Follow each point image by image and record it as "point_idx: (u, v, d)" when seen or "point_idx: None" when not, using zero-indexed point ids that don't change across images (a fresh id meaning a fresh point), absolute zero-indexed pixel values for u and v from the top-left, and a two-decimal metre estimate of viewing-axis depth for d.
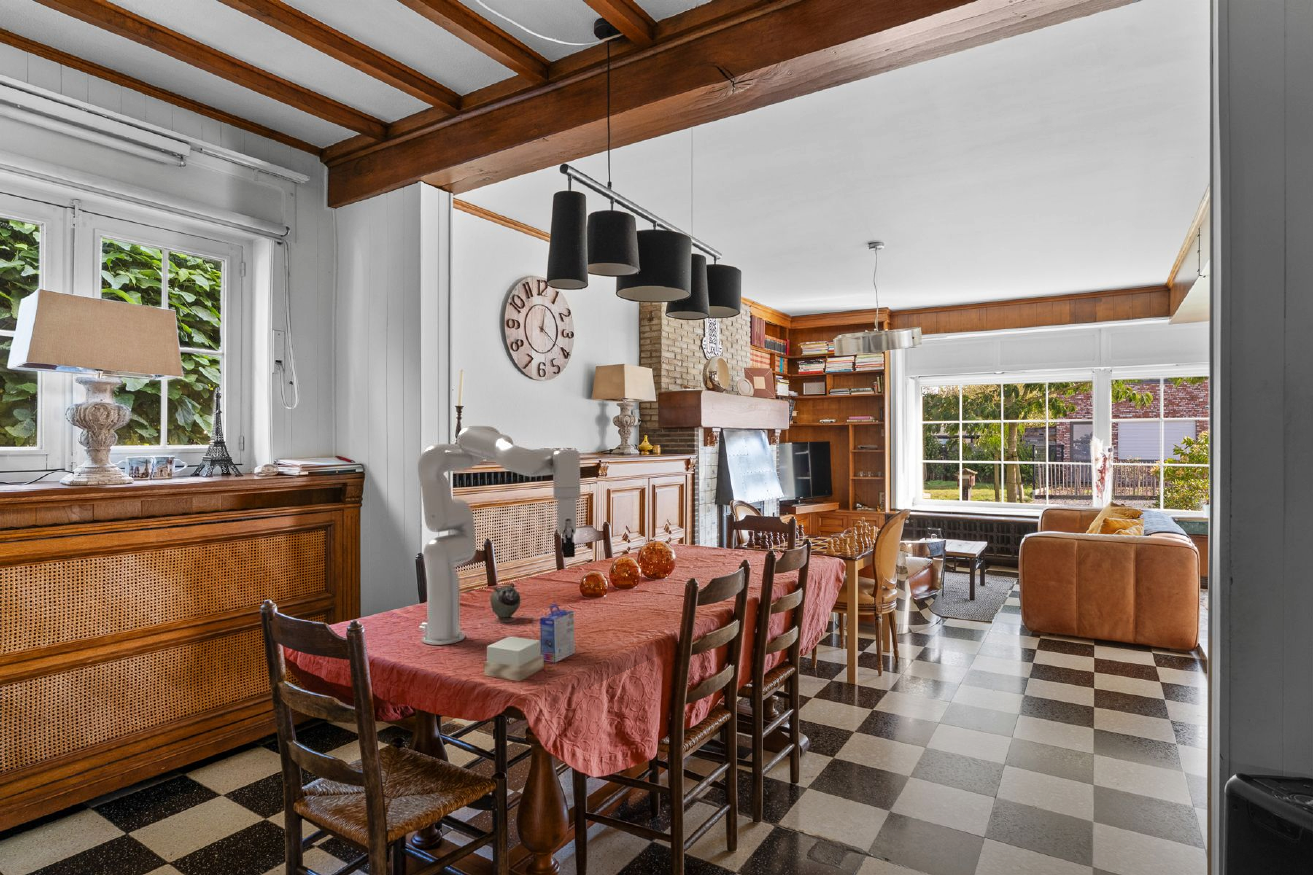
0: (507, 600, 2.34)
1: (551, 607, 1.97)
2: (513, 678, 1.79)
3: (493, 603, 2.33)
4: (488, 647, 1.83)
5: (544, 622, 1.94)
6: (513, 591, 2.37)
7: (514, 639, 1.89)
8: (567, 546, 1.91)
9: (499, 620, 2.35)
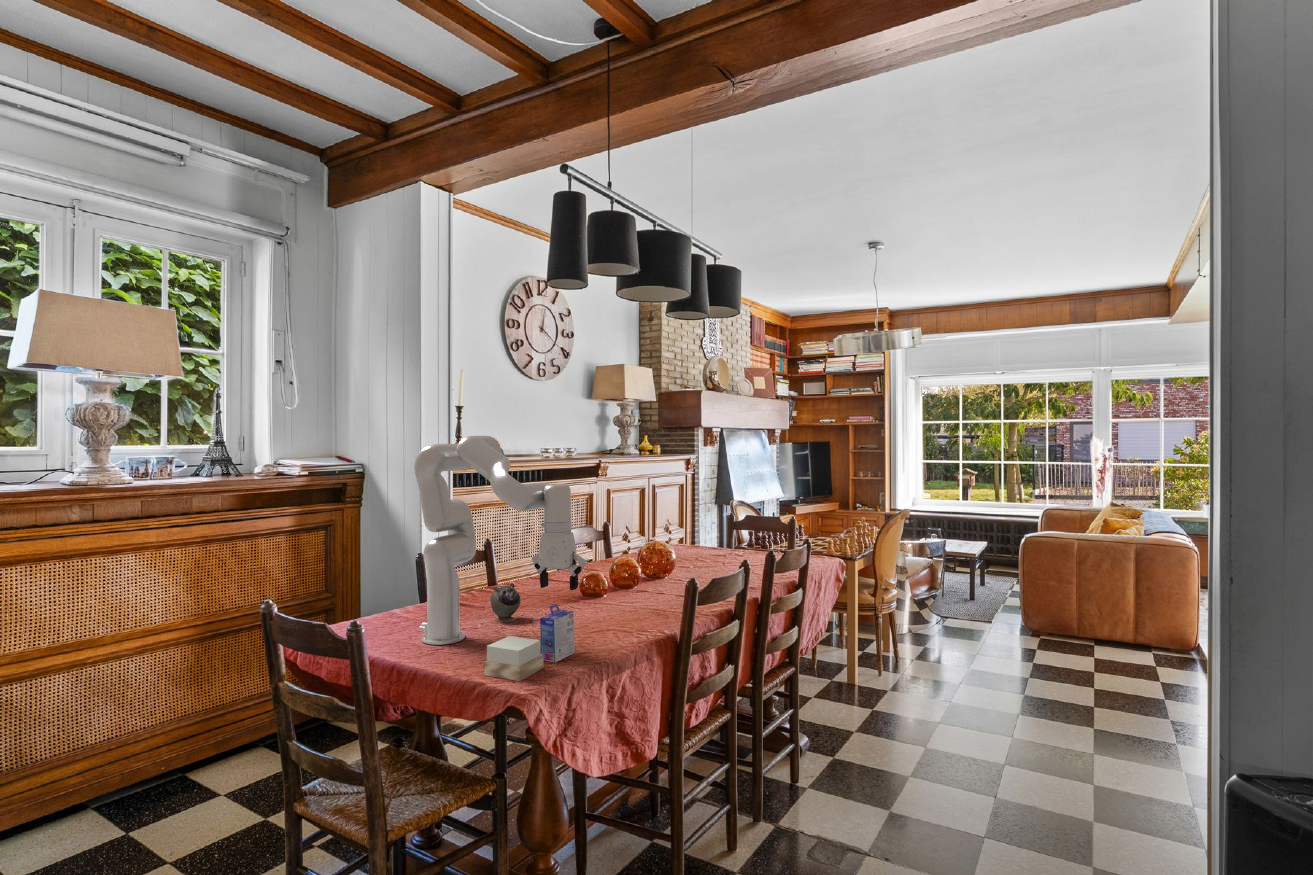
0: (507, 600, 2.34)
1: (551, 607, 1.97)
2: (513, 678, 1.79)
3: (493, 603, 2.33)
4: (488, 646, 1.83)
5: (544, 622, 1.94)
6: (513, 591, 2.37)
7: (513, 639, 1.89)
8: (576, 578, 1.95)
9: (499, 620, 2.35)
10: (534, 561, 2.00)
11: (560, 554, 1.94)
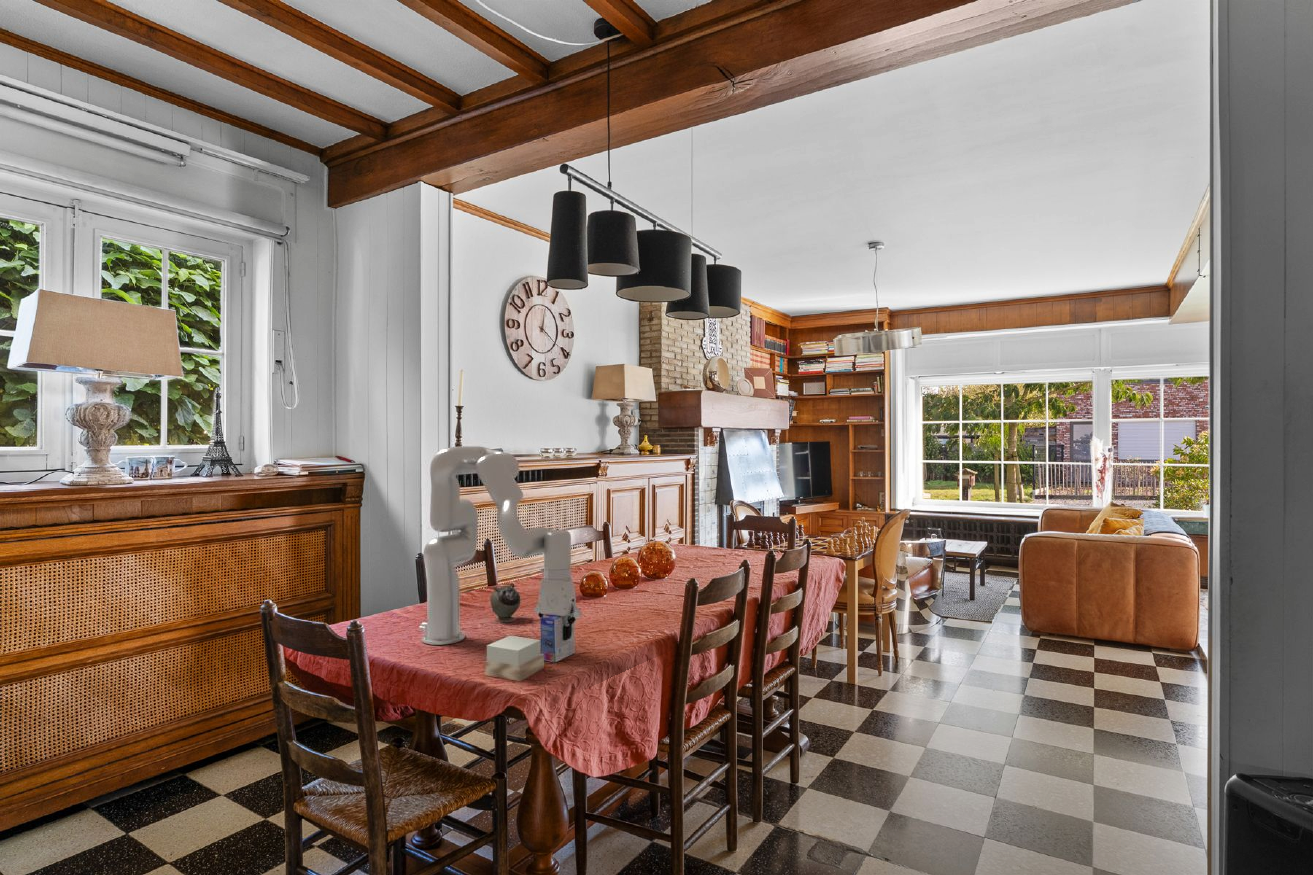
0: (507, 600, 2.34)
1: None
2: (514, 677, 1.79)
3: (493, 603, 2.33)
4: (488, 646, 1.83)
5: (544, 622, 1.94)
6: (513, 591, 2.37)
7: (514, 639, 1.89)
8: (569, 628, 1.96)
9: (499, 620, 2.35)
10: (538, 611, 2.00)
11: (559, 601, 1.94)
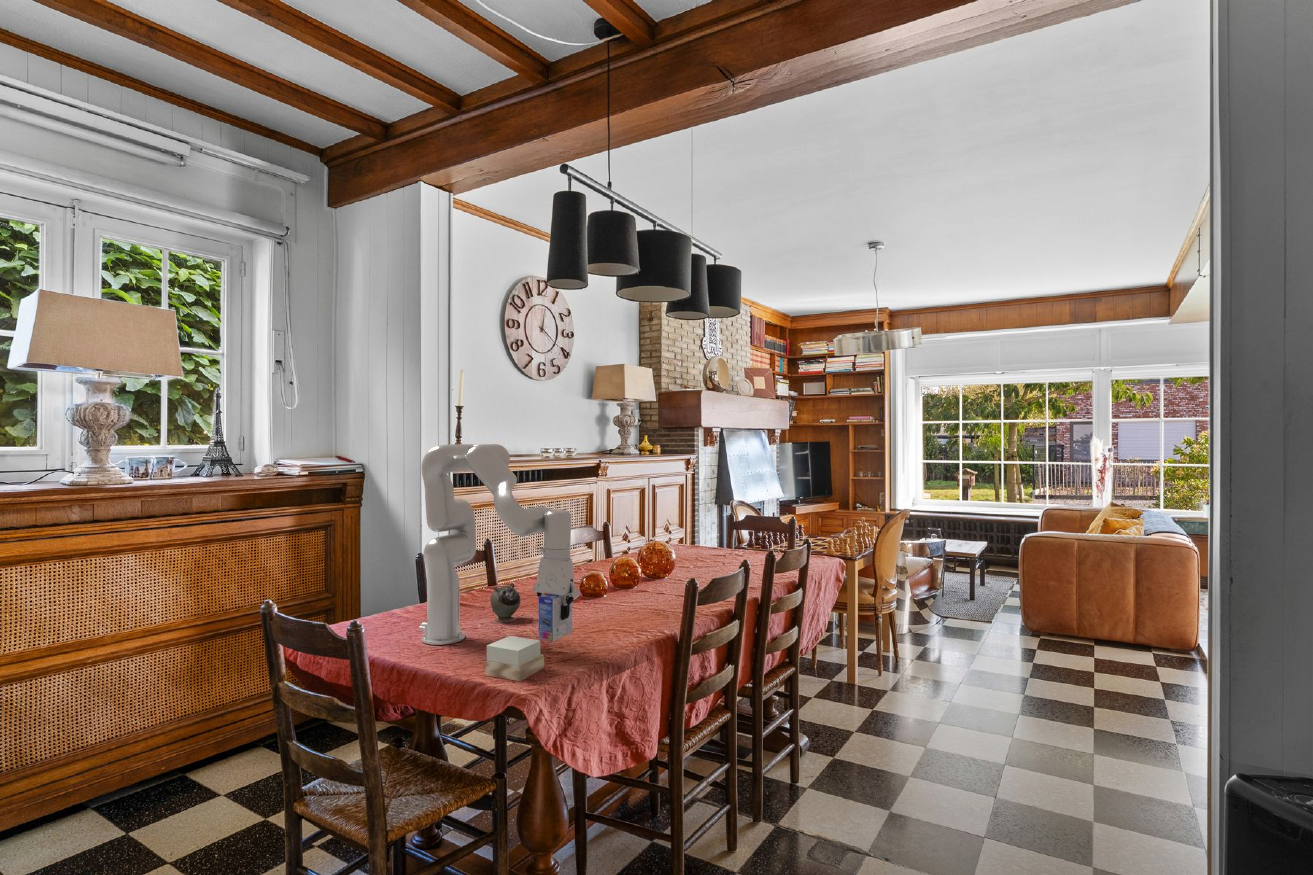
0: (507, 600, 2.34)
1: None
2: (514, 678, 1.79)
3: (493, 603, 2.33)
4: (488, 646, 1.83)
5: (543, 601, 1.94)
6: (513, 591, 2.37)
7: (514, 639, 1.89)
8: (567, 608, 1.96)
9: (499, 620, 2.35)
10: (536, 590, 2.00)
11: (558, 581, 1.94)
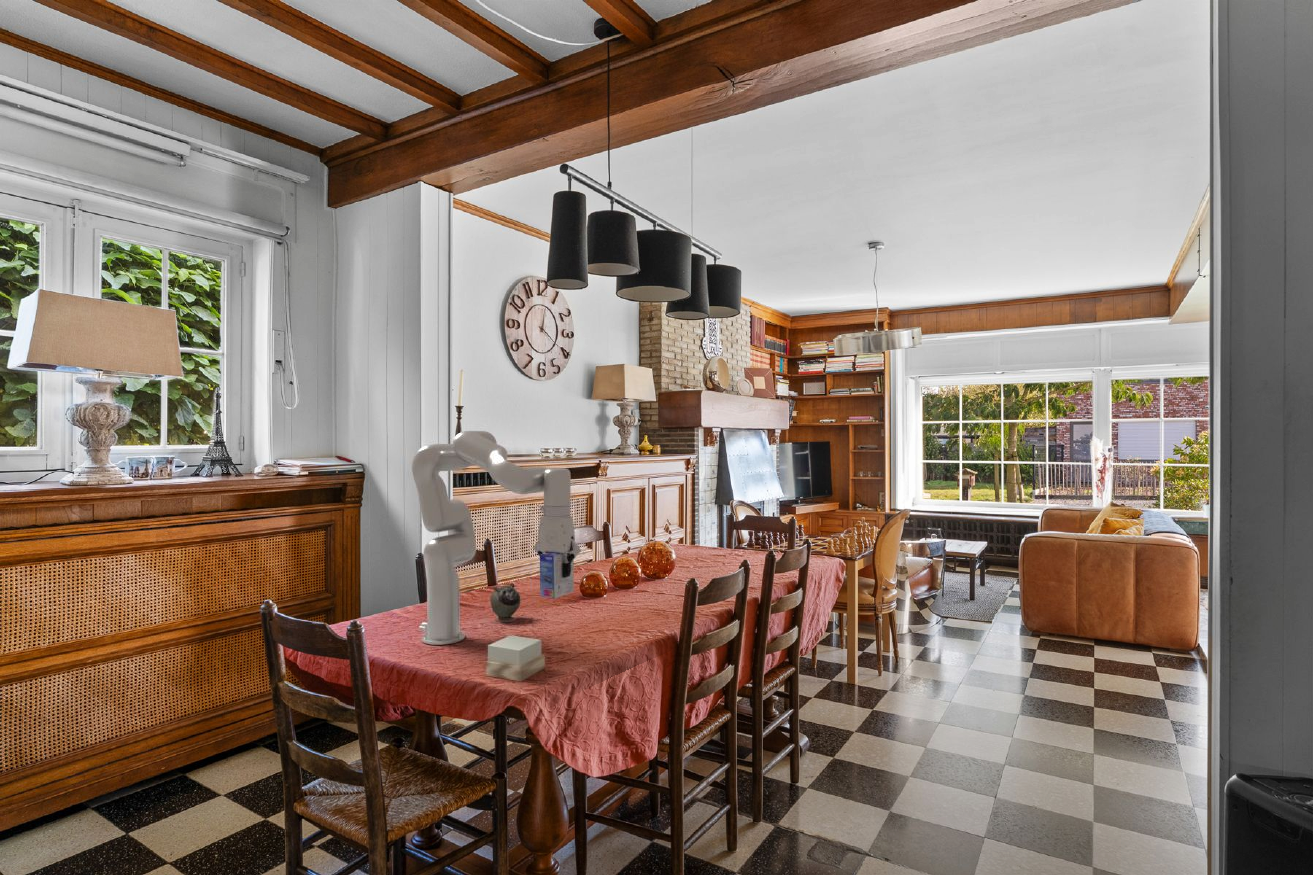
0: (507, 600, 2.34)
1: None
2: (514, 678, 1.79)
3: (493, 603, 2.33)
4: (489, 646, 1.84)
5: (544, 559, 1.94)
6: (513, 591, 2.37)
7: (515, 639, 1.89)
8: (568, 565, 1.96)
9: (499, 620, 2.35)
10: (537, 549, 2.00)
11: (559, 538, 1.94)
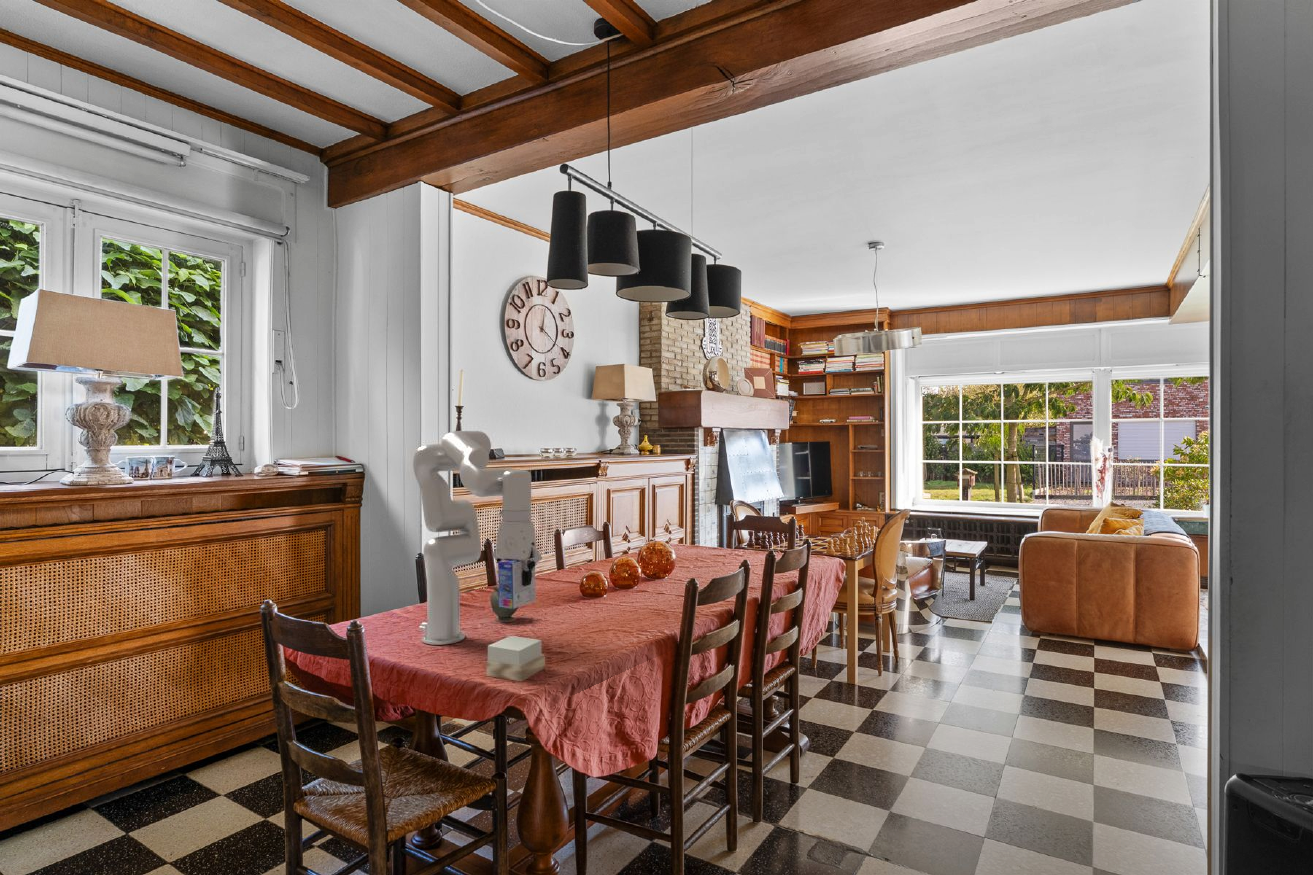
0: None
1: None
2: (515, 678, 1.79)
3: (493, 603, 2.33)
4: (489, 646, 1.83)
5: (502, 566, 1.82)
6: None
7: (515, 639, 1.89)
8: (529, 573, 1.85)
9: (499, 620, 2.35)
10: (496, 556, 1.88)
11: (518, 544, 1.83)
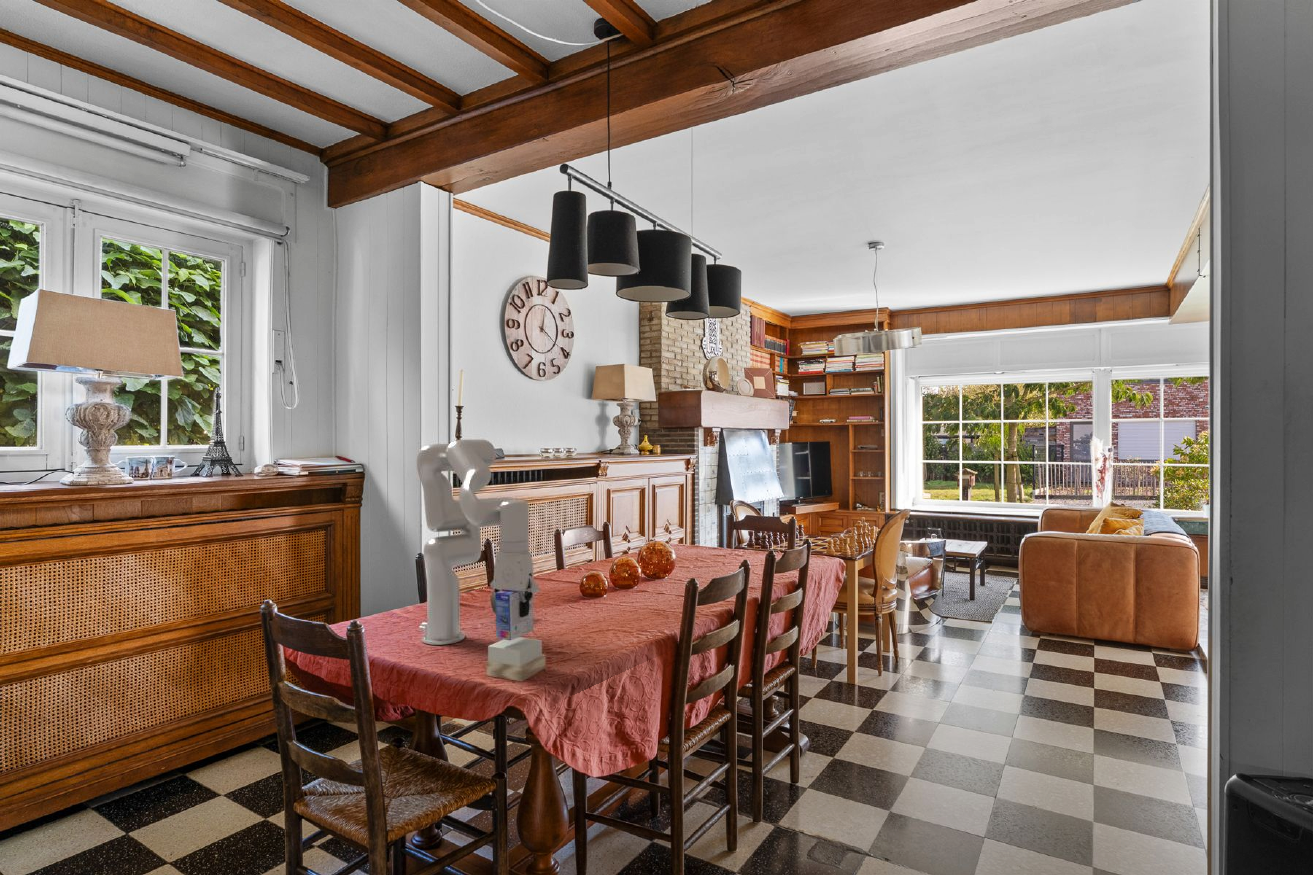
0: None
1: None
2: (515, 678, 1.79)
3: (493, 603, 2.33)
4: (489, 647, 1.83)
5: (500, 598, 1.82)
6: None
7: (515, 639, 1.89)
8: (526, 604, 1.84)
9: None
10: (494, 586, 1.88)
11: (515, 575, 1.82)
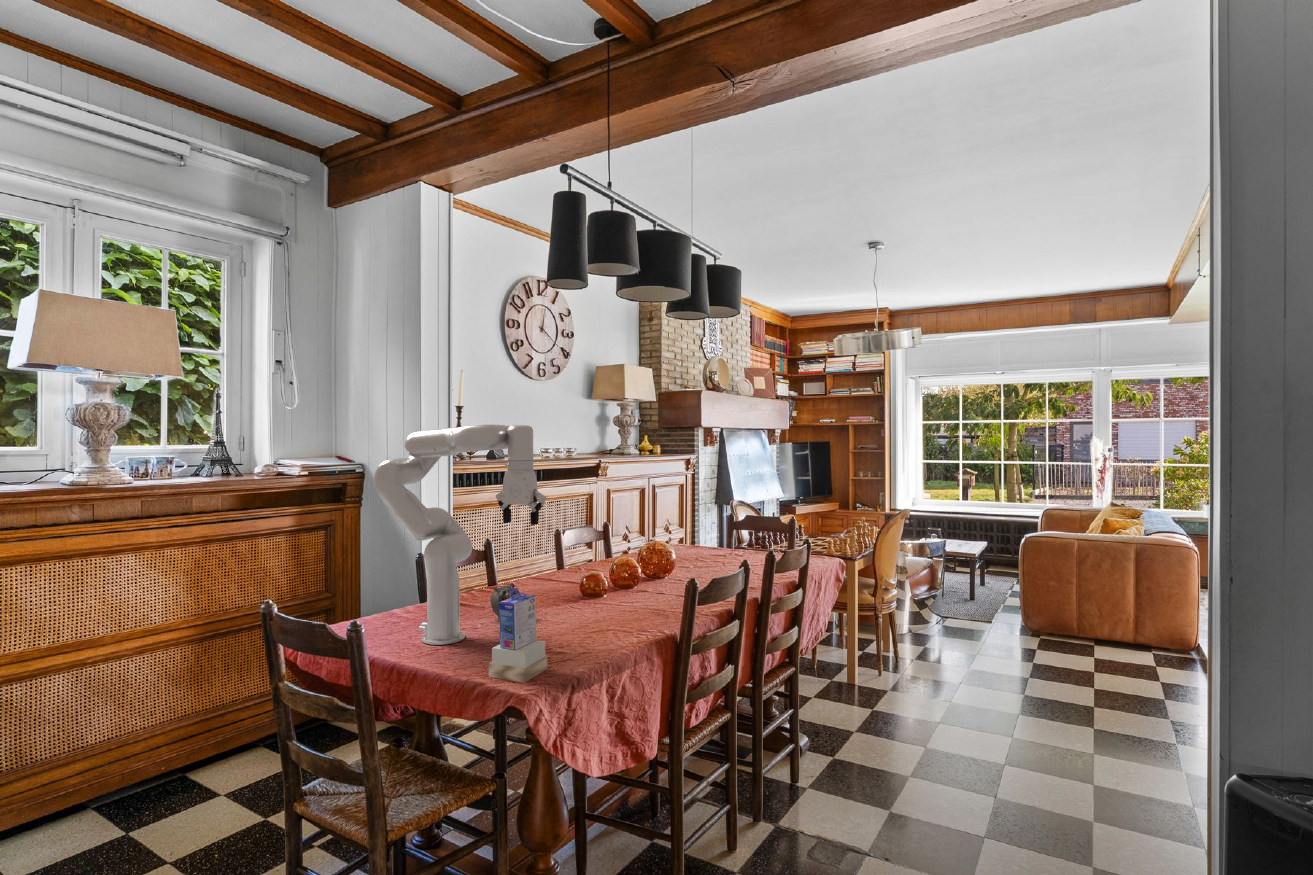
0: None
1: (511, 591, 1.84)
2: (518, 679, 1.78)
3: (493, 603, 2.33)
4: (493, 649, 1.81)
5: (503, 607, 1.81)
6: None
7: None
8: (536, 514, 2.06)
9: None
10: (498, 498, 2.11)
11: (521, 491, 2.05)
